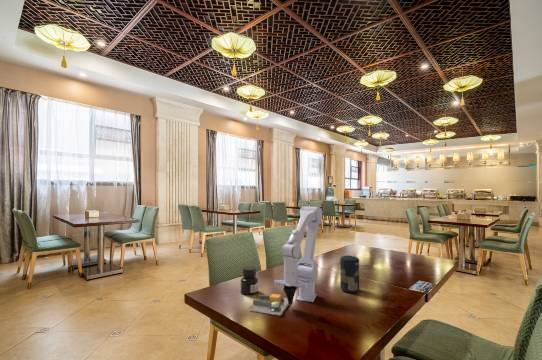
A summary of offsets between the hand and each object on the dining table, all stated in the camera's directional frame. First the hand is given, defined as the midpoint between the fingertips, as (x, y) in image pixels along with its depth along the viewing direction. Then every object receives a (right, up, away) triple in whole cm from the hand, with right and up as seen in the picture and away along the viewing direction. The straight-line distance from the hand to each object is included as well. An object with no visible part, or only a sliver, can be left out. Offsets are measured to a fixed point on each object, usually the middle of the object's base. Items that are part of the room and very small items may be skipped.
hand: (290, 303), depth 116 cm
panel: (-8, -2, +3) cm, 9 cm away
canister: (+32, -4, +22) cm, 39 cm away
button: (-7, +1, -4) cm, 8 cm away
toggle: (-7, -1, +2) cm, 7 cm away
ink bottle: (-19, -4, +19) cm, 28 cm away
